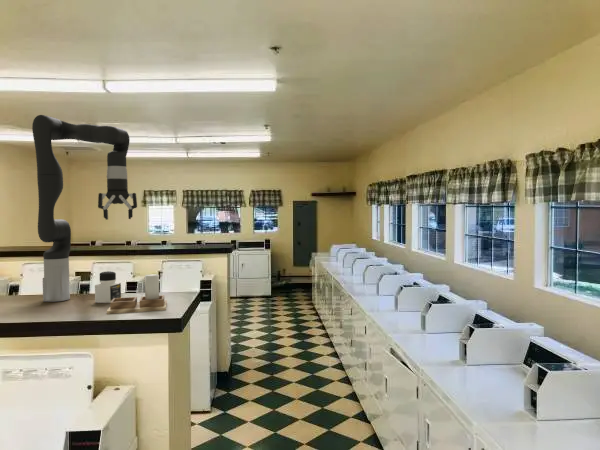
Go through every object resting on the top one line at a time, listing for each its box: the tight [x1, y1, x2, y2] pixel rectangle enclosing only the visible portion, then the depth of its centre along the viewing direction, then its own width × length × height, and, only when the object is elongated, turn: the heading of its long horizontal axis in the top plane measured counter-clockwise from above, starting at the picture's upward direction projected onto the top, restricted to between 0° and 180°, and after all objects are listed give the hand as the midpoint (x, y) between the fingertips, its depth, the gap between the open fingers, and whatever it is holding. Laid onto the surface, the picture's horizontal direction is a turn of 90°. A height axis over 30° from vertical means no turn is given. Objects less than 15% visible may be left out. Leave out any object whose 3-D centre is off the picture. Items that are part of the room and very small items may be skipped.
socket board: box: [106, 294, 168, 315], centre depth 171 cm, size 20×14×4 cm
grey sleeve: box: [144, 273, 160, 300], centre depth 172 cm, size 5×5×11 cm
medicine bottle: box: [94, 270, 122, 304], centre depth 185 cm, size 7×7×12 cm
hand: (118, 219), depth 181 cm, fingers open, 8 cm apart
